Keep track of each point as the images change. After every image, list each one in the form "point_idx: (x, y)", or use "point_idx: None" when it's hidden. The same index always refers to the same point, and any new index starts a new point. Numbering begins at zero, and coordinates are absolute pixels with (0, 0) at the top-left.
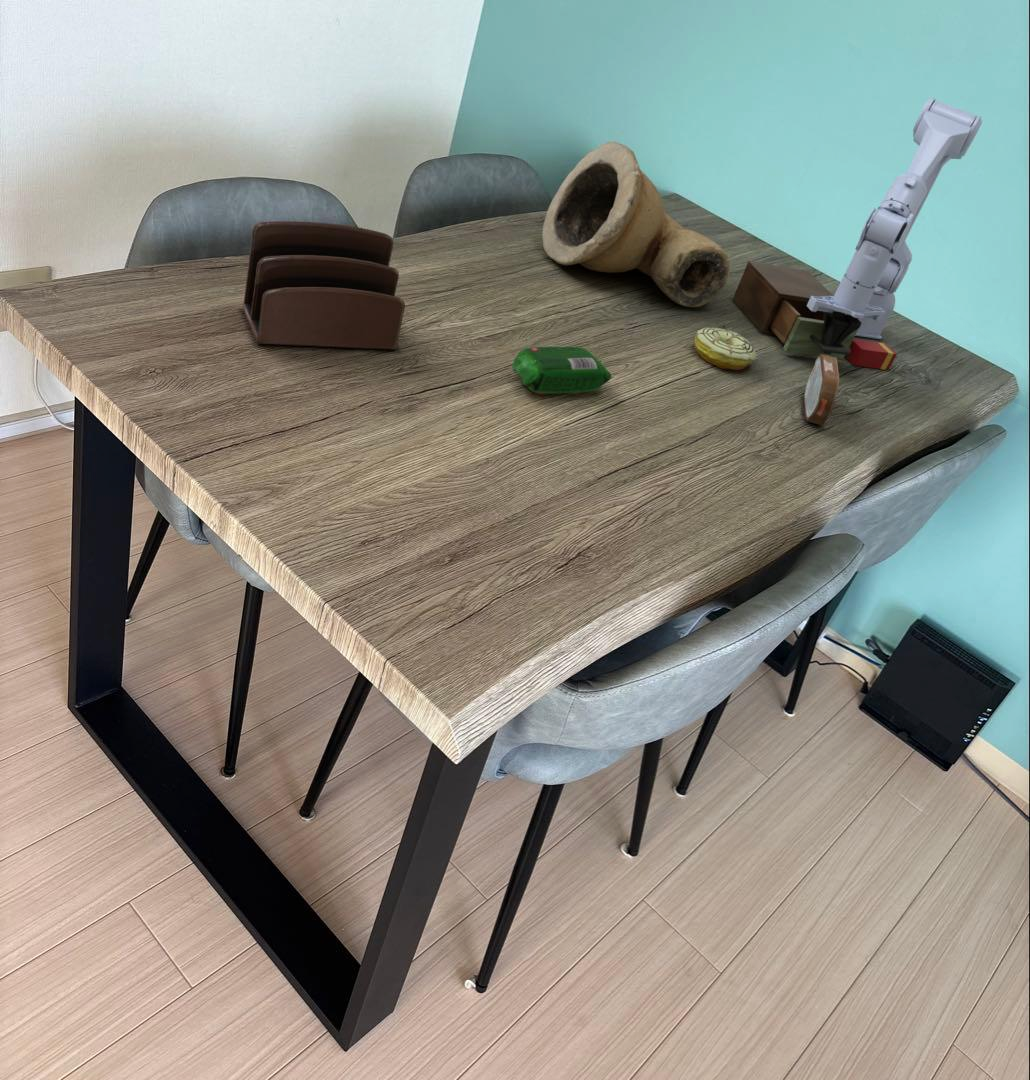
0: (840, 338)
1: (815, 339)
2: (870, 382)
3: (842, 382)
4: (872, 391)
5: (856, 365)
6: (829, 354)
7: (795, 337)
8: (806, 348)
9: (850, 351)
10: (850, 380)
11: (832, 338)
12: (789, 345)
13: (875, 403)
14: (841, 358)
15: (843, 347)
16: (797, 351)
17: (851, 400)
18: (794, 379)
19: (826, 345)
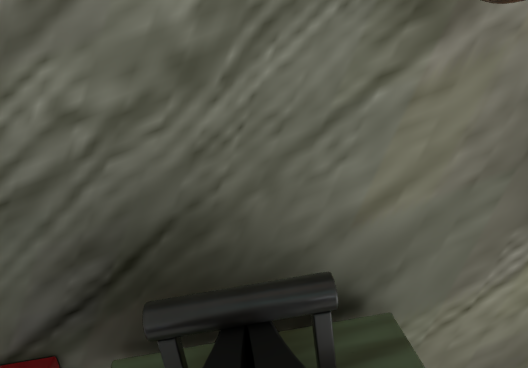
0: (233, 365)
1: (335, 358)
2: (5, 240)
3: (168, 181)
4: (17, 153)
5: (41, 359)
6: (187, 356)
7: (405, 362)
8: (311, 344)
9: (144, 314)
10: (115, 217)
11: (288, 350)
12: (399, 331)
13: (34, 21)
14: (122, 360)
15: (189, 329)
16: (342, 325)
17: (181, 2)
18: (429, 111)
19: (308, 304)
